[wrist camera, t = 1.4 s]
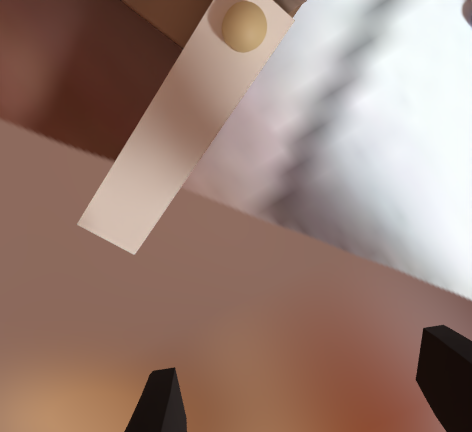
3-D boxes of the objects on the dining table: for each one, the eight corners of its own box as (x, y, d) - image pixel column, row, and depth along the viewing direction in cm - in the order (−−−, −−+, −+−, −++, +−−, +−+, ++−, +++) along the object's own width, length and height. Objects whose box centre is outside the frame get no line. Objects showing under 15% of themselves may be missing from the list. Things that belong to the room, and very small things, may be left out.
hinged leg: (227, -16, 13) (236, -41, 10) (278, 29, 14) (300, 17, 11) (94, 202, 16) (71, 230, 13) (143, 229, 16) (131, 262, 13)
